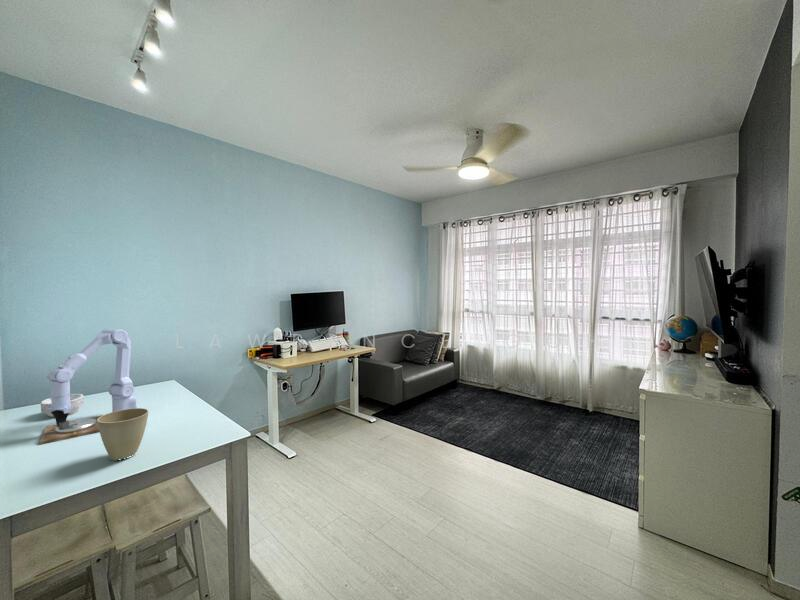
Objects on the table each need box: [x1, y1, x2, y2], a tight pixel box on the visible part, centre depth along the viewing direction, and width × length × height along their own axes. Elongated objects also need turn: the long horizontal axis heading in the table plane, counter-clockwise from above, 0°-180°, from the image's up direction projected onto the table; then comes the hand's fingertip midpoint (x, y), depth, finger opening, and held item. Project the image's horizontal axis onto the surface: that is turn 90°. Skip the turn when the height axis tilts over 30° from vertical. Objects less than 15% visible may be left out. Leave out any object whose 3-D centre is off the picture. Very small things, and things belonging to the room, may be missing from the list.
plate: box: [39, 415, 102, 446], centre depth 146 cm, size 20×20×1 cm
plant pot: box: [97, 407, 149, 461], centre depth 124 cm, size 15×15×16 cm
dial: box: [55, 418, 96, 433], centre depth 146 cm, size 13×13×4 cm
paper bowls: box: [40, 393, 85, 418], centre depth 165 cm, size 15×15×8 cm
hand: (61, 426), depth 142 cm, fingers closed, pressing on dial
